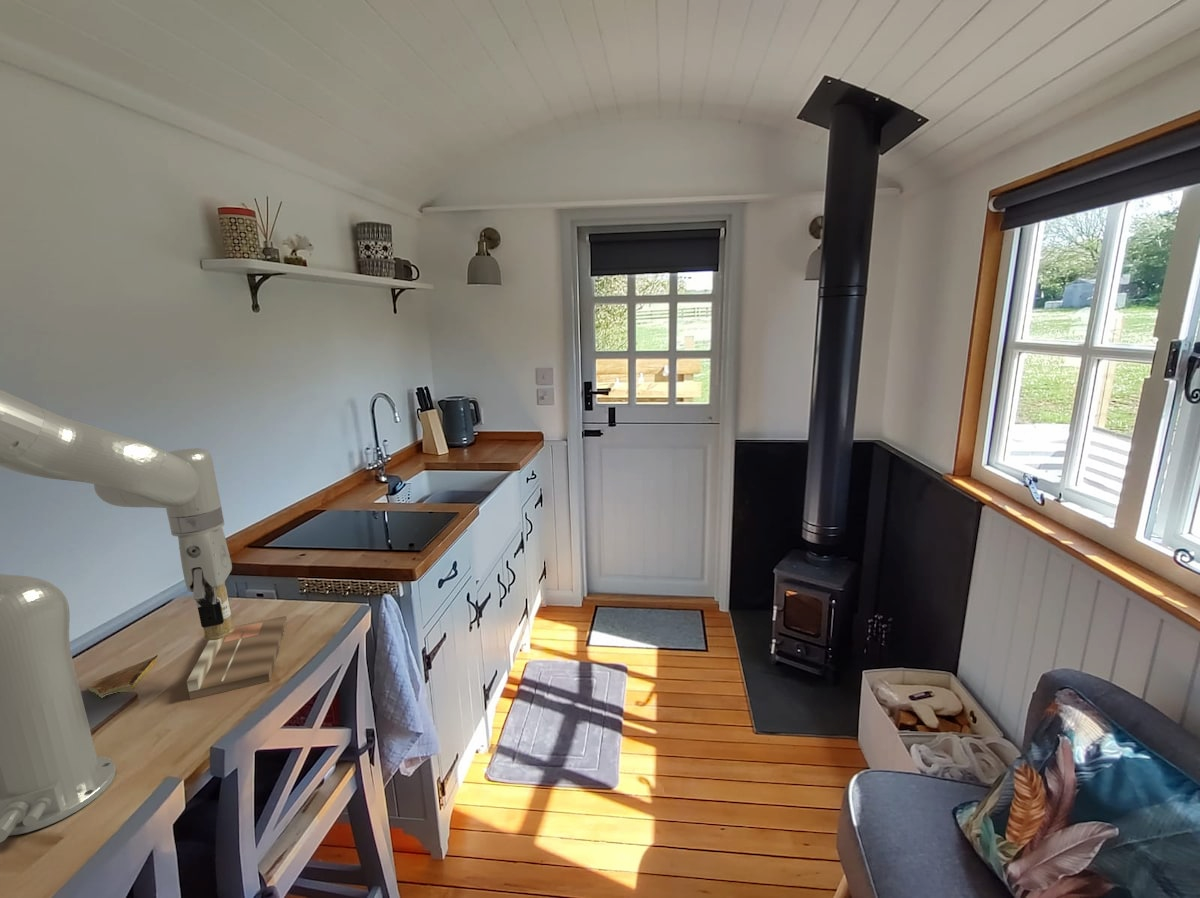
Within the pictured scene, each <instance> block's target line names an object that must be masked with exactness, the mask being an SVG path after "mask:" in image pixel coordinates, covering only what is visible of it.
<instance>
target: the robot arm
mask: <svg viewBox="0 0 1200 898" xmlns="http://www.w3.org/2000/svg"><path fill="white" fill-rule="evenodd" d="M0 467H2V468H4V469H8V470H11V471H14V472H16V473H20V474H24V475H29V476H34V477H39V478H44V479H51V480H58V481H59V480H60V481H70V482H80V483H85V484H91V485H93V487H94V488H93V489H94V491H95V493H96V495H97V496H98V498H99V499H101V500H102V501H103V502H105V503H107V504H109V505H111V506H117V507H122V508H151V509H152V508H153V509H158V508H160V509H165V510H166V515H167V518H168V519H167V520H168V524H169V529H170V534H171V535H172V536H174V537H178V546H179V548H178V549H179V555H180V563H181V567H182V573H183V574H182V575H183V577H184V582H185V587H186V589H187V591H189V592H191V593H193V600H195V602H196V607H197V611H198V617H199V620H200V625H201V628H203V629H204V628H205V627H210V626H215V625H220V624H222V623H223V622H224V619H223V614H222V609H221V604H220V602H217V593H216V587H220V586H221V585H222V584H223V583H224V582H225V587H226V588H227V585H226V580H227V578H228V577H229V575H230V573H231V572H232V570H233V565H232V563H233V562H232V559H231V556H230V552H229V547H228V544H227V539H226V536H225V533H224V529H223V527H224V526H225V520H224V519H225V518H224V514H223V510H222V504H221V499H220V498H221V497H220V494H219V493H220V492H219V487H218V482H217V477H216V472H215V468H214V467H215V466H214V463H213V458H212V455H211V453H210V451H208V450H206V449H204V448H185V449H176V450H172V451H166V450H164V449H162V448H160V447H157V446H155V445H153V444H150V443H147V442H145V441H142V440H139V439H136V438H133V437H129V436H126V435H123V434H120V433H116V432H113V431H110V430H106V429H104V428H100V427H97V426H94V425H91V424H87V423H85V422H81V421H77V420H74V419H70V418H68V417H65V416H62V415H59V414H57V413H54V412H53V411H50V410H48V409H46V408H43V407H41V406H39V405H36V404H34V403H31V402H30V401H28V400H25V399H24V398H23V399H22V398H20V397H18V396H16V395H13V394H11V393H10V392H7V391H5V390H2V389H0ZM193 580H194V581H193ZM204 584H210V586H208V587H204ZM210 590H211V595H210V594H209V593H207V594H206V592H205V591H210ZM226 591H227V592H228V590H227V589H226ZM227 596H228V597H229V595H228V593H227ZM228 601H229V602H230V599H229V598H228ZM229 606H230V603H229ZM230 607H231V606H230ZM70 613H71V612H70V606H69V602H68V599H67V597H66V595H65V594H64V593H63V591H62V590H60V588H58V587H57V586H56V585H54V584H53V583H51V582H49V581H46V580H44V579H41V578H37V577H32V576H25V575H18V574H17V575H15V574H2V573H1V574H0V843H2V842H4V841H5V840H6V839H7V838H8V837H9V836H17V835H22V834H27V833H30V832H31V833H32V832H33V831H37V830H39V829H43V828H45V827H47V826H50V825H53V824H55V823H57V822H59V821H62V820H63V819H65V818H68V817H69V816H71V815H73V814H74V813H76V812H79V811H80V810H81V809H83V808H84V807H86V806H87V805H89V804H90V803H91V802H92V801H94V800H95V799H97V798H98V797H99V796H100V795H101V794H103V792H104V791H105V790H106V789H107V788H108V787H109V786H110V785H111V783H112V782H113V780H114V779H115V776H116V774H117V773H116V772H117V771H116V765H115V763H114V761H113V760H112V759H111V758H109V757H106V756H100V755H97V753H96V748H95V744H94V740H93V735H92V733H91V728H90V724H89V721H88V716H87V712H86V709H85V704H84V700H83V695H82V691H81V689H80V685H79V680H78V676H77V673H76V670H75V665H74V660H73V656H72V650H71V642H70V619H71V618H70V617H71V616H70Z"/></svg>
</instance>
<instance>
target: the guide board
mask: <svg viewBox="0 0 1200 898" xmlns="http://www.w3.org/2000/svg"><path fill="white" fill-rule="evenodd" d="M286 620H287V621H288V619H287V616H286V615H285V616H280V617H274V618H270V619H265V620H260V621H259V620H258V621H254V622H250V623H249V622H248V623H243V624H238V625H233V627H234V631H233V633H232V634H230V635H229V636H227V637H224V638H222V639H218V640H207V643H206V645H205V647H204V648H203V651H202V652H201V654H200V656H199V657H198V660H197V661H196V664H195V666H194V667H193V669H192V670H191V673H190V675H189V676H188V678H187V679H186V684H187V689H188V695H189V699H190V700H194V699H199V698H204V697H207V696H211V695H216V694H220V693H224V692H228V691H234V690H236V689H242V688H245V687H247V688H248V687H251V686H254V685H258V684H259V685H260V684H263V683H268V682H270V681H271V677H272V674H273V671H274V669H275V664H276V660H277V657H278V654H279V651H280V648H281V645H280V644H282V641H283V638H282V636H283V637H284V634H283V632H284V633H285V631H284V628H285V624H286ZM286 625H287V624H286ZM285 629H286V628H285ZM281 640H282V641H281Z"/></svg>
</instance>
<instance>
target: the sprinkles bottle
mask: <svg viewBox="0 0 1200 898" xmlns="http://www.w3.org/2000/svg"><path fill="white" fill-rule="evenodd" d="M193 581H194V580H193ZM225 584H226V581H225V582H224V583H223V584H222V585H221V586H220V587H216V593H217V602H220V604H221V609H222V614H223V619H224V622H223V623H222V624H220V625H215V626H210V627H205V628H203V632H204V635H203V636H204V639H205V641H206V640H207V641H209V640H218V639H222V638H224V637H227V636H229V635H230V634H232V633H233V631H234V627H233V626H234V624H233V620H232V619H233V618H232V613H231V606H229V604H230V600H229V601H228V599H229V595H228V596H227V594H228V590H227V586H226V587H225ZM208 586H210V584H204V587H208ZM226 590H227V591H226ZM205 592H206V594H207V593H209V594H210V595H211V590H210V591H205Z"/></svg>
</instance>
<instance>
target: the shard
mask: <svg viewBox="0 0 1200 898" xmlns="http://www.w3.org/2000/svg"><path fill="white" fill-rule="evenodd" d="M158 657H159V655H158V654H156V655H155V656H154V657H151V658H148V659H145V660H143V661H141V662H139V663H136V664H132V665H131V666H128V667H126V668H123V669H121V670H117V671H116V672H113V673H112V674H110V675H107V676H105V677H103V678H100V679H98V680H96V681H93V682H91V683H90V684H89V685H88V686H87V687H88V690H89V691H90V692H92V693H93V692H95V693H98V695H100V696H101V697H102V696H104V695H106V694H109V693H115V692H120V693H122V692H123V693H124V692H127V691H133V689H134V688H135V687H136V685H137V683H138V682H139V681H140V680H141V679H142V678H143V677H144V676H146V674H148V672H149V671H150V670H151V669H152V668H153V667H154V666H155V664H156V663H157V658H158ZM95 693H94V694H95Z"/></svg>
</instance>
